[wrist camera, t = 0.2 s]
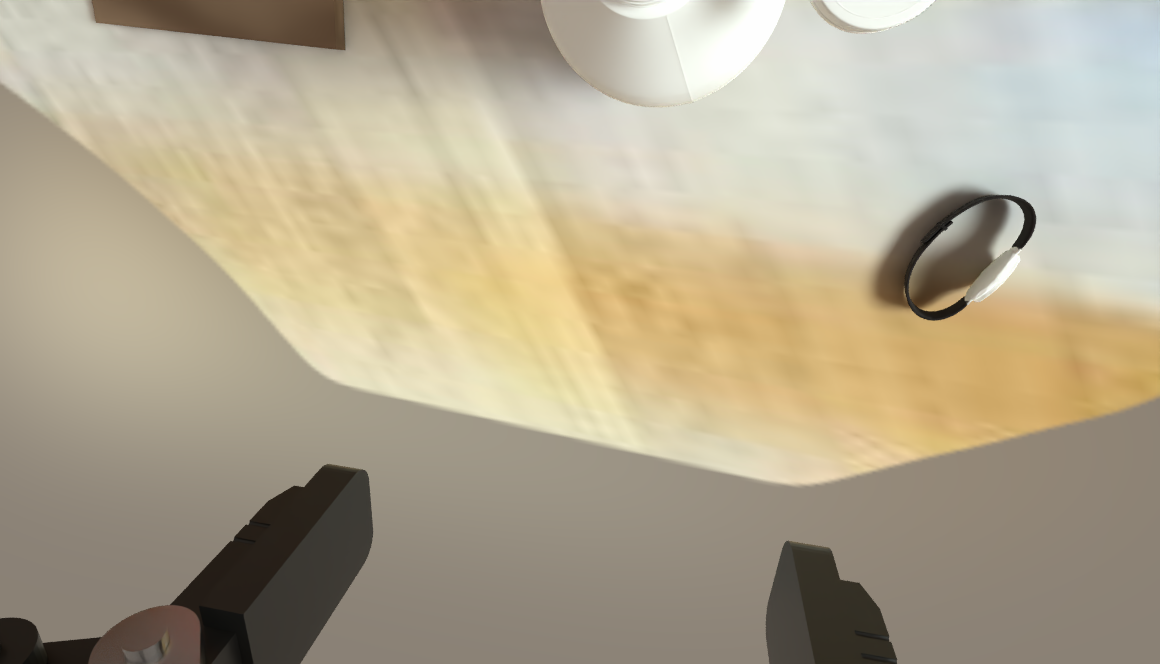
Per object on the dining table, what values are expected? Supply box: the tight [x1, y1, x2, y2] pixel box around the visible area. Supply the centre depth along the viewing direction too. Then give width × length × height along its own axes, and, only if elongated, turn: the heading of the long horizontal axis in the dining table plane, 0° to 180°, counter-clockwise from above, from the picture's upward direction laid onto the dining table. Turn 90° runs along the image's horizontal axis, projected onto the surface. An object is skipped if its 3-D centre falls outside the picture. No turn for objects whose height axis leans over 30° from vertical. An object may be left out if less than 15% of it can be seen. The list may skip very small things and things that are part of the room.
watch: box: [904, 195, 1036, 321], centre depth 35 cm, size 8×5×4 cm, turn 149°
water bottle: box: [540, 0, 936, 107], centre depth 23 cm, size 9×6×25 cm
